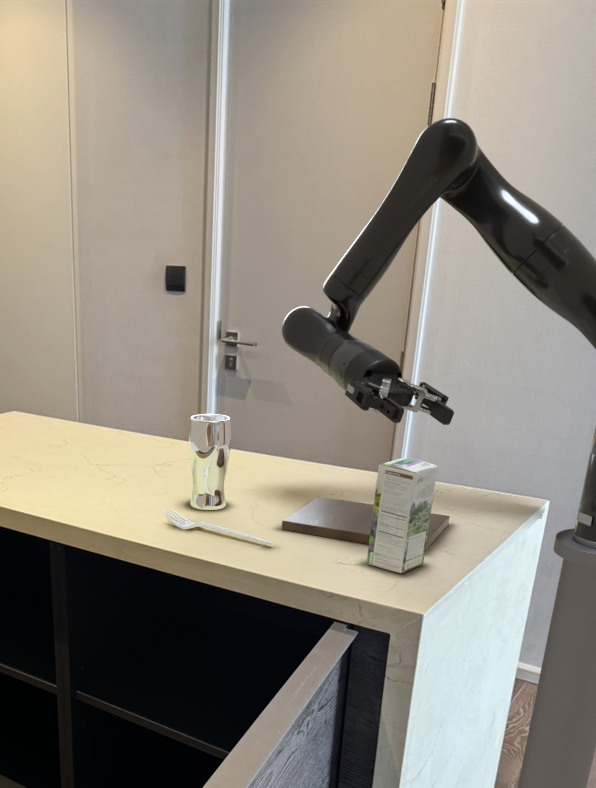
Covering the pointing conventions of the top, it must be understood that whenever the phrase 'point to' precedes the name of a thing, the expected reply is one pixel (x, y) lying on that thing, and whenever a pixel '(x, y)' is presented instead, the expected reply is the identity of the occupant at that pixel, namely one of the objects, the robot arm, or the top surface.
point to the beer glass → (209, 459)
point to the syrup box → (401, 514)
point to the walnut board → (346, 520)
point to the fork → (211, 527)
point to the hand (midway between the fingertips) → (425, 417)
